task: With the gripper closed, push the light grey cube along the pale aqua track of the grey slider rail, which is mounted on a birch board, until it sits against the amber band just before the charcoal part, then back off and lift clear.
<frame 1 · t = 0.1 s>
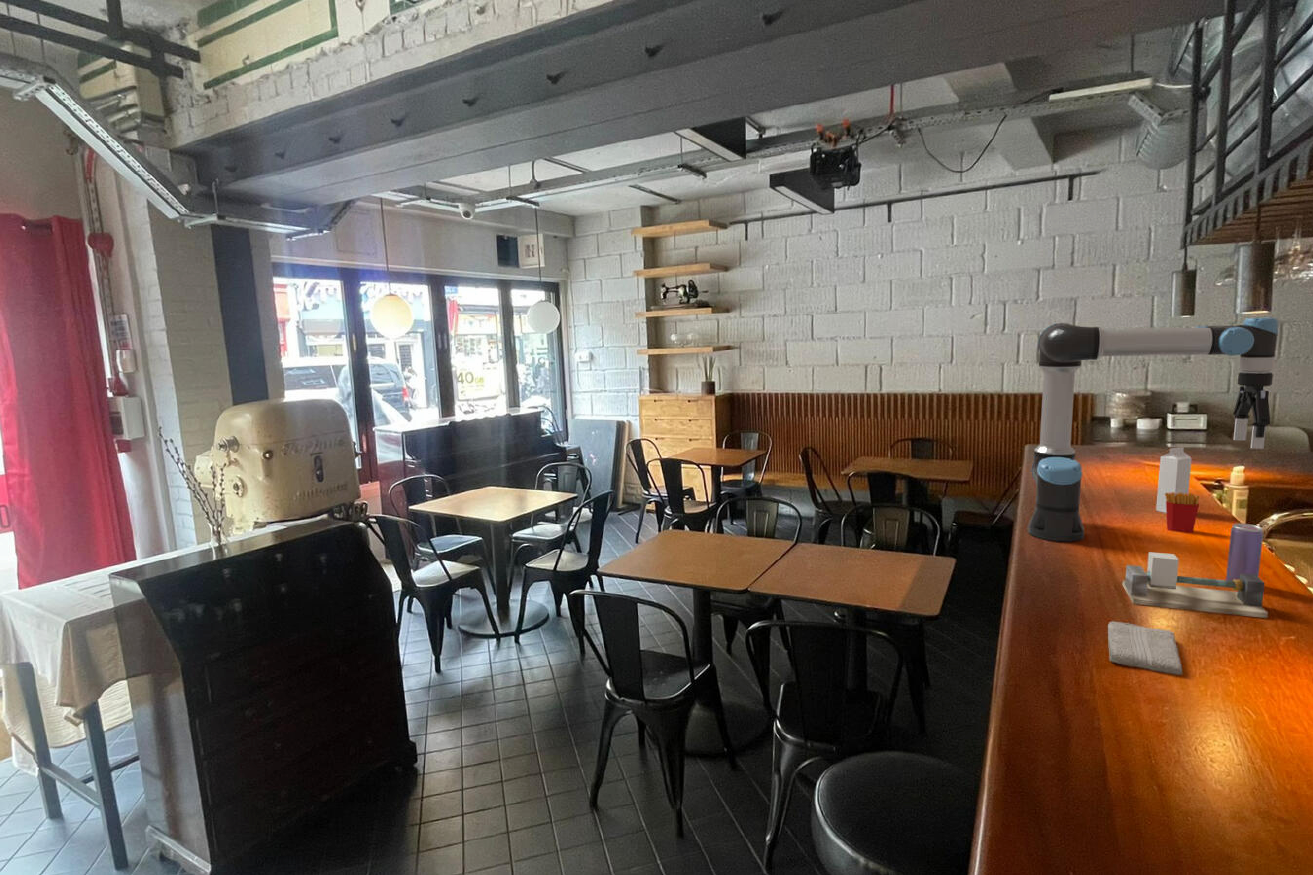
hand: (1247, 444, 200), 28 cm above the bar counter, fingers open, 13 cm apart
grey slider rail: (1190, 600, 162), on the bar counter
french fries: (1178, 530, 213), on the bar counter
washcloth: (1141, 653, 140), on the bar counter
light grey cube: (1162, 570, 164), point 7 cm above the bar counter, slide at 0.0 cm
milk: (1171, 512, 231), on the bar counter
beverage can: (1241, 585, 170), on the bar counter
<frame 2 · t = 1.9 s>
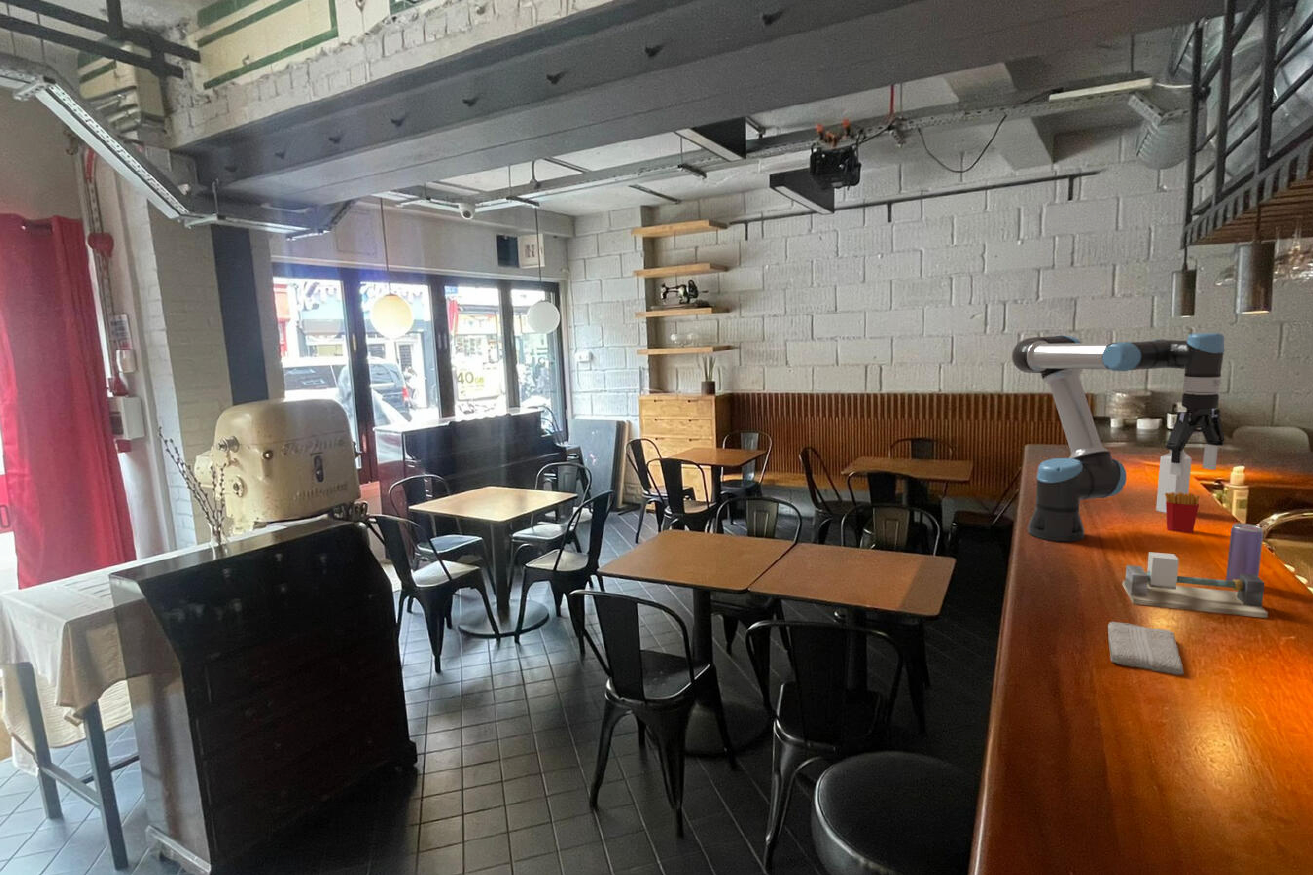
hand: (1192, 471, 183), 25 cm above the bar counter, fingers open, 13 cm apart
nothing on the bar counter moved.
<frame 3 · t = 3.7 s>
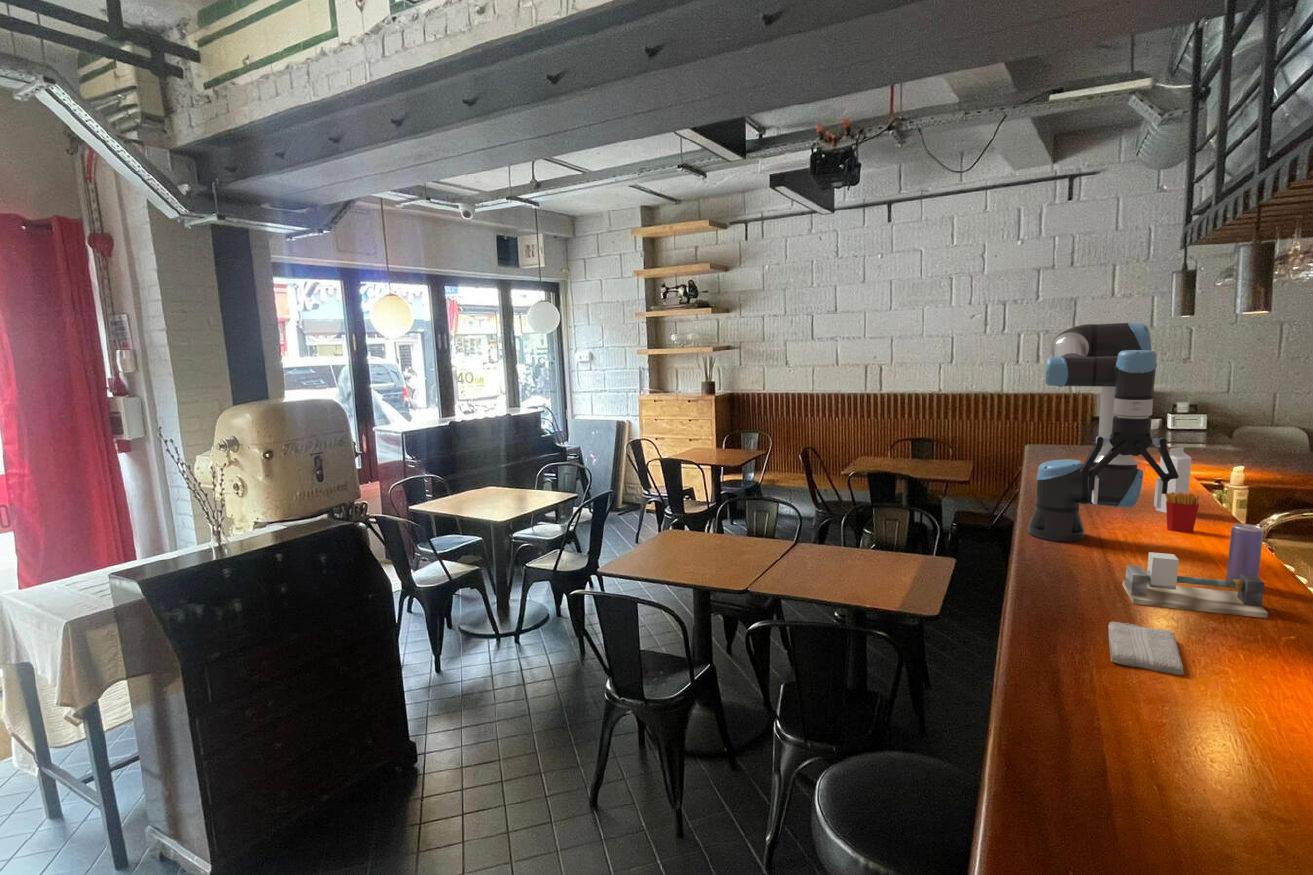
hand: (1125, 505, 165), 22 cm above the bar counter, fingers open, 12 cm apart
nothing on the bar counter moved.
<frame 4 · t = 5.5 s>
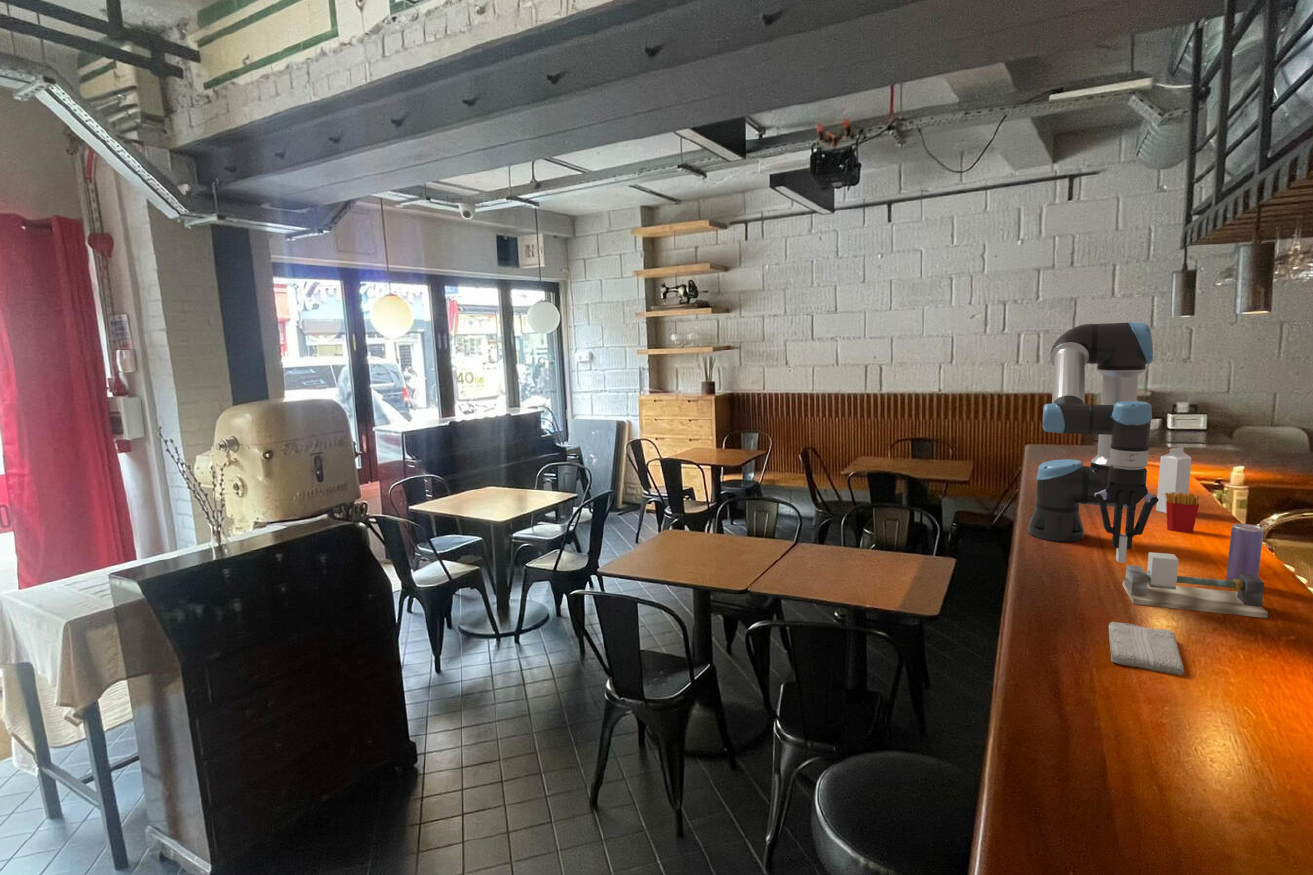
hand: (1120, 560, 167), 8 cm above the bar counter, fingers closed
nothing on the bar counter moved.
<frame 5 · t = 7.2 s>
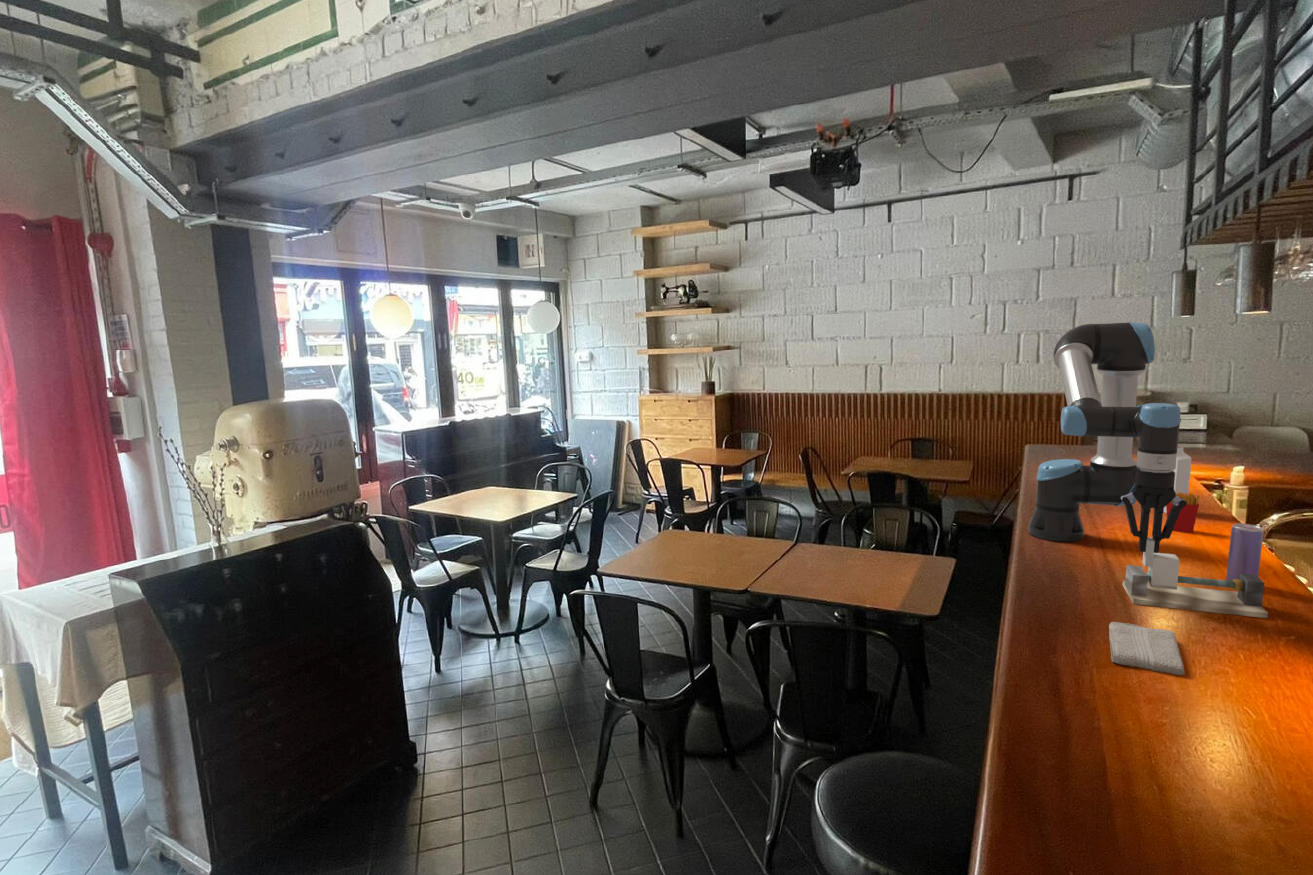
hand: (1147, 564, 165), 8 cm above the bar counter, fingers closed
light grey cube: (1163, 570, 164), point 7 cm above the bar counter, slide at 0.2 cm, touching gripper
everything else where it was.
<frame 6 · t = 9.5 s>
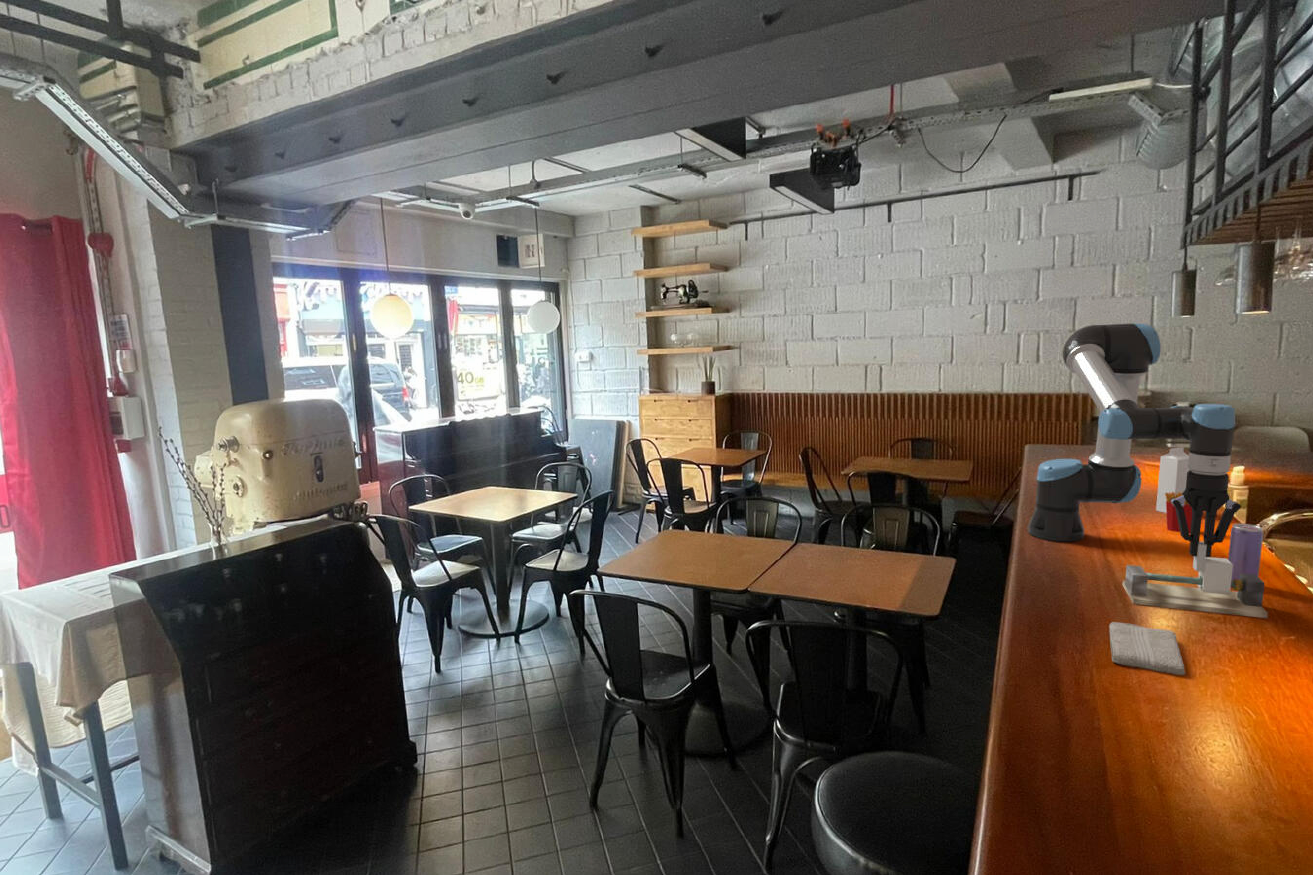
hand: (1198, 569, 161), 8 cm above the bar counter, fingers closed
light grey cube: (1214, 575, 160), point 7 cm above the bar counter, slide at 10.2 cm, touching gripper
everything else where it was.
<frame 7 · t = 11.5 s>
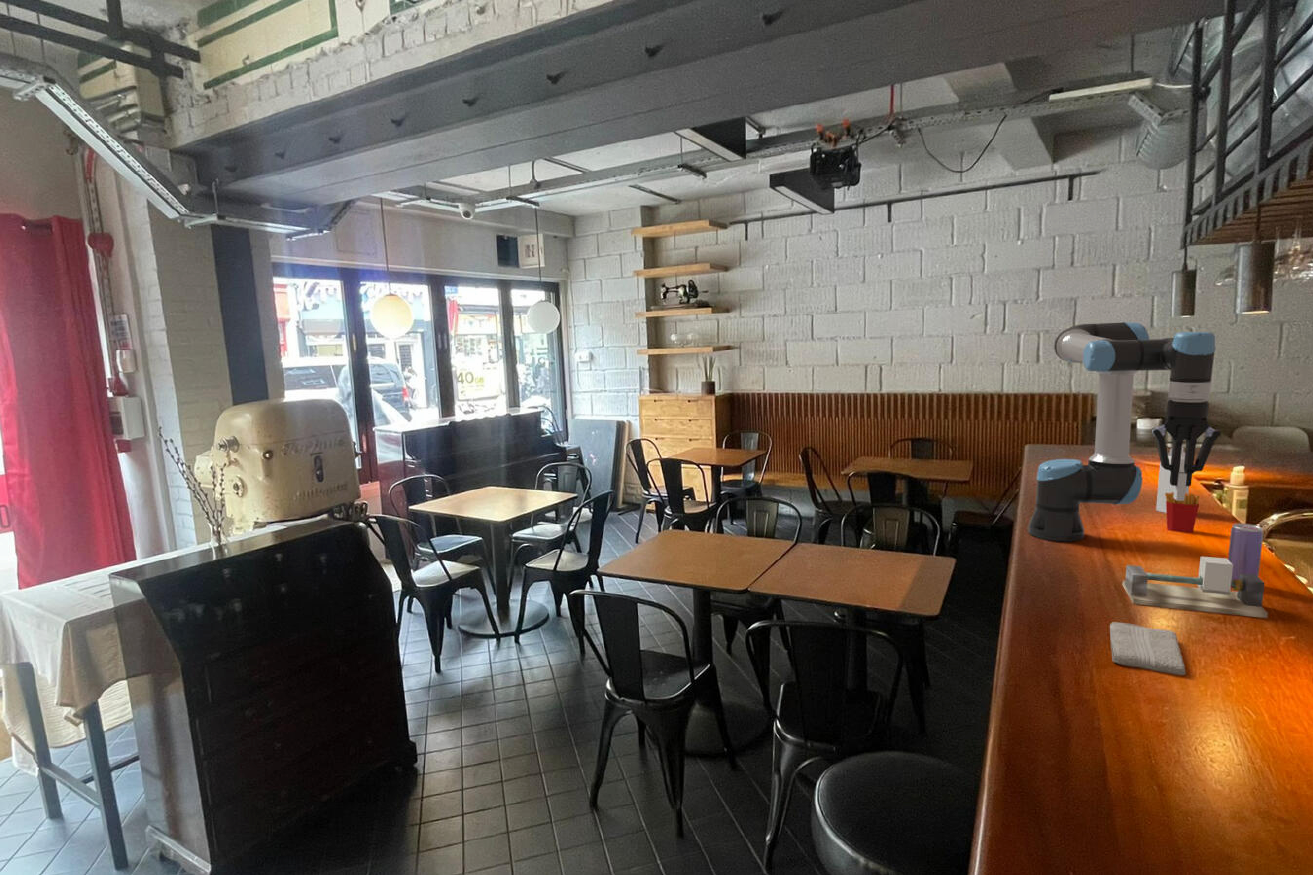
hand: (1178, 499, 161), 24 cm above the bar counter, fingers closed
light grey cube: (1215, 575, 160), point 7 cm above the bar counter, slide at 10.2 cm
everything else where it was.
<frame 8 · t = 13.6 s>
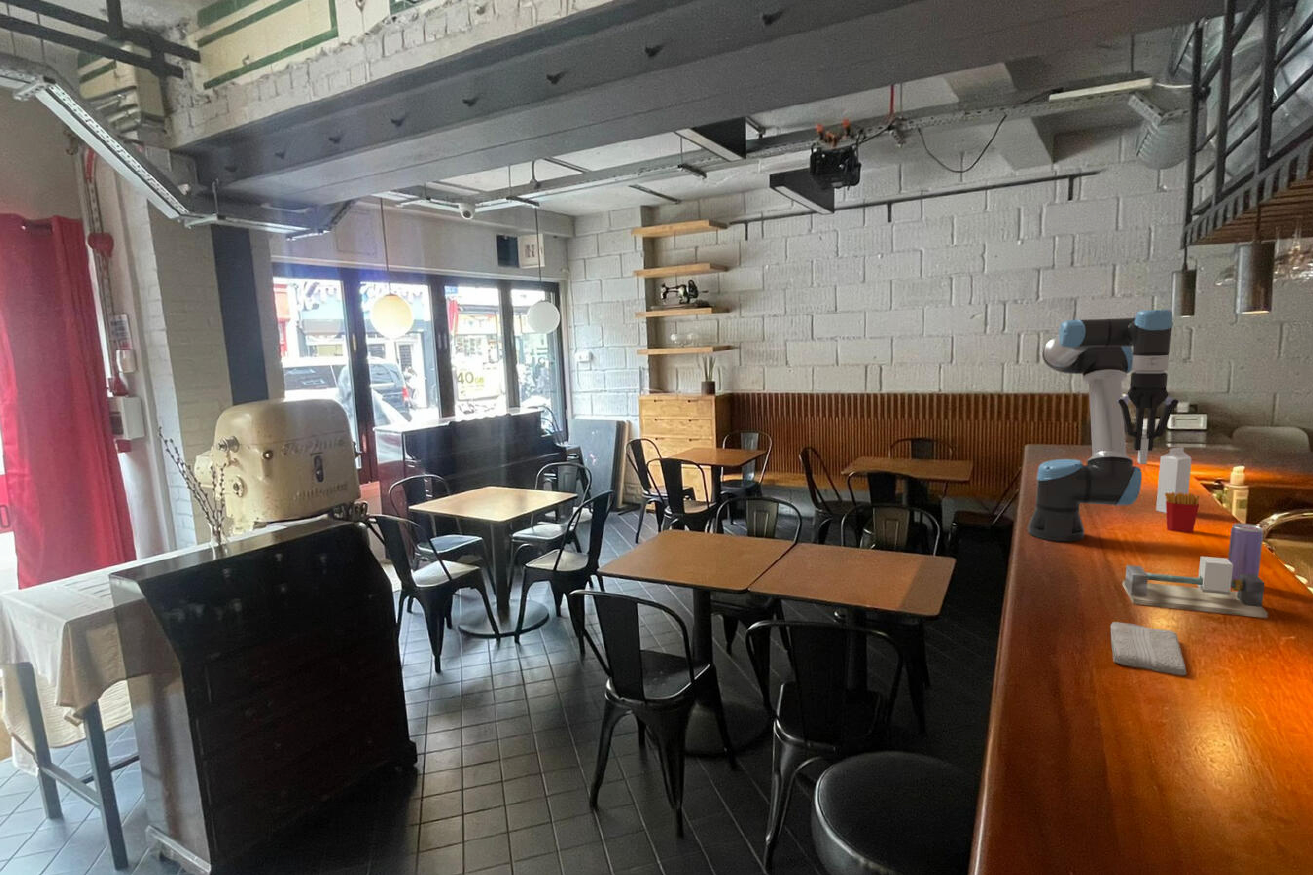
hand: (1141, 462, 177), 29 cm above the bar counter, fingers closed
nothing on the bar counter moved.
at the end: light grey cube slide at 10.2 cm; the gripper is holding nothing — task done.
